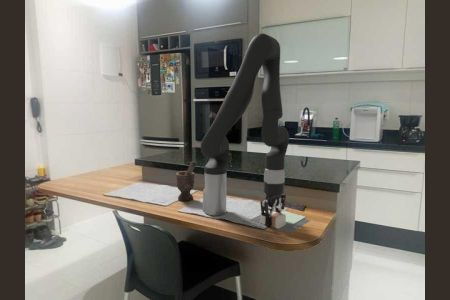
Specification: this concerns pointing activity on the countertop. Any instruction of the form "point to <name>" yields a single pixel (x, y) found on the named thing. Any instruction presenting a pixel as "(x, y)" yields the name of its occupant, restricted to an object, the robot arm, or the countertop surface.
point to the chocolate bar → (294, 206)
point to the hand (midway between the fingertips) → (272, 223)
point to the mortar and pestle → (186, 182)
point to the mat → (288, 221)
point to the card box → (275, 219)
